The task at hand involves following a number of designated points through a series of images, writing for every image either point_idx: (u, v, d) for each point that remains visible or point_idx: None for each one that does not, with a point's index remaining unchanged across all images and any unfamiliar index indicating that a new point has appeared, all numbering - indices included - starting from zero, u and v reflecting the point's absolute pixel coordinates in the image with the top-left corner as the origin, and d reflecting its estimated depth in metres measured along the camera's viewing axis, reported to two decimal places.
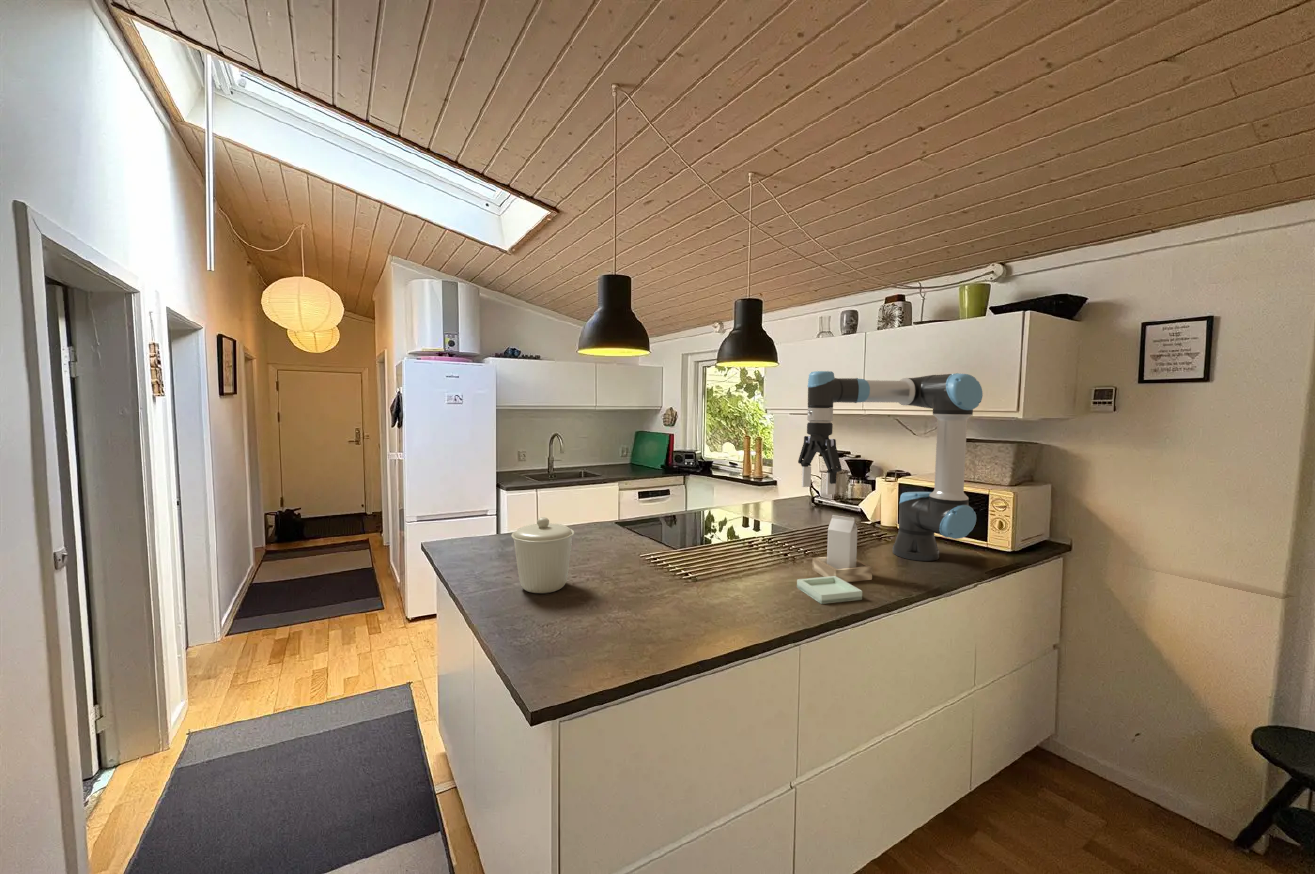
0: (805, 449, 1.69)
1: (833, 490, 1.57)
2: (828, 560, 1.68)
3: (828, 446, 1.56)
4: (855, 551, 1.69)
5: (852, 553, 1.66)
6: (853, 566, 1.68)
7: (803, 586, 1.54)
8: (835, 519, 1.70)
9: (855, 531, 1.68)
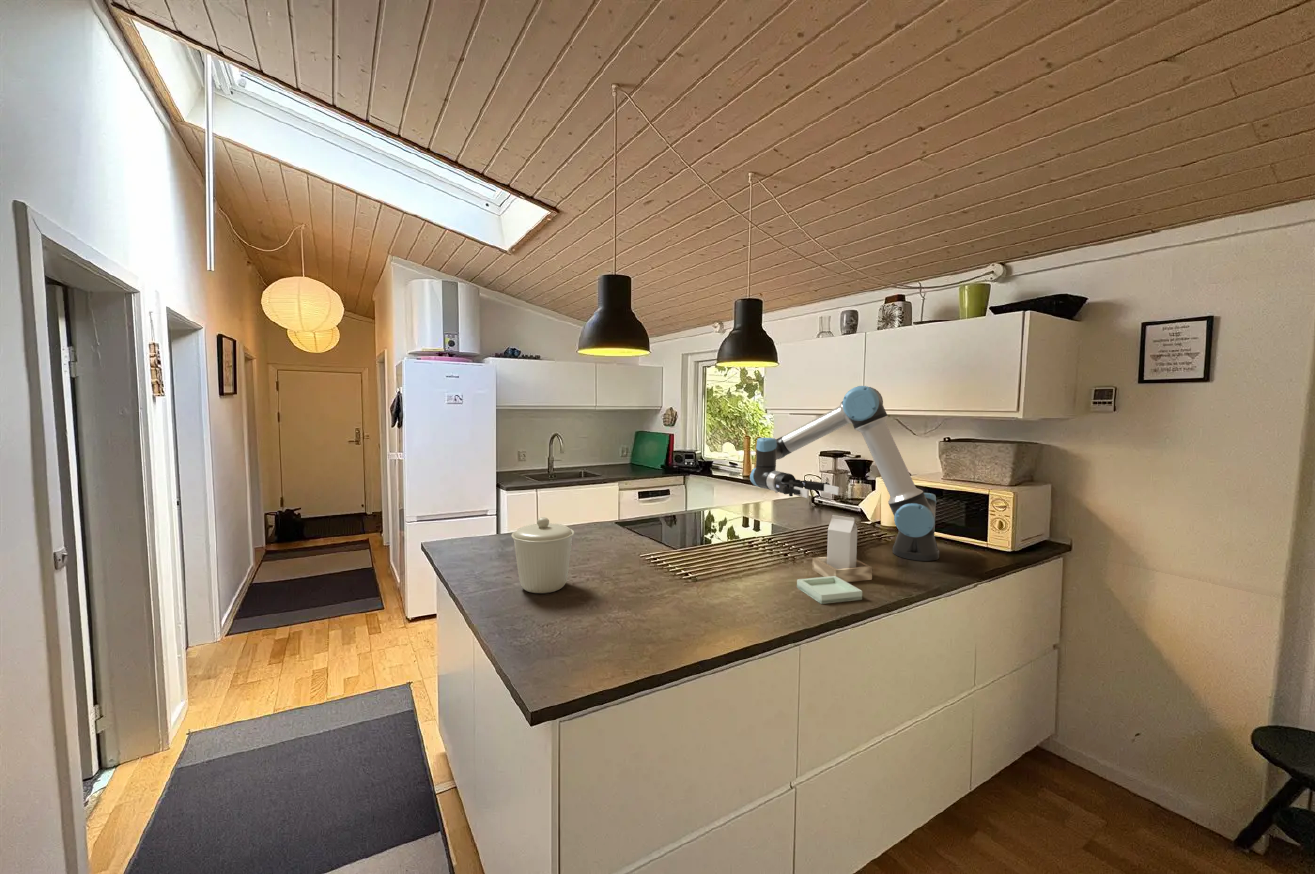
0: None
1: (804, 491, 1.74)
2: (828, 560, 1.68)
3: (779, 489, 1.86)
4: (855, 551, 1.69)
5: (852, 553, 1.66)
6: (853, 566, 1.68)
7: (803, 586, 1.54)
8: (835, 519, 1.70)
9: (855, 531, 1.68)
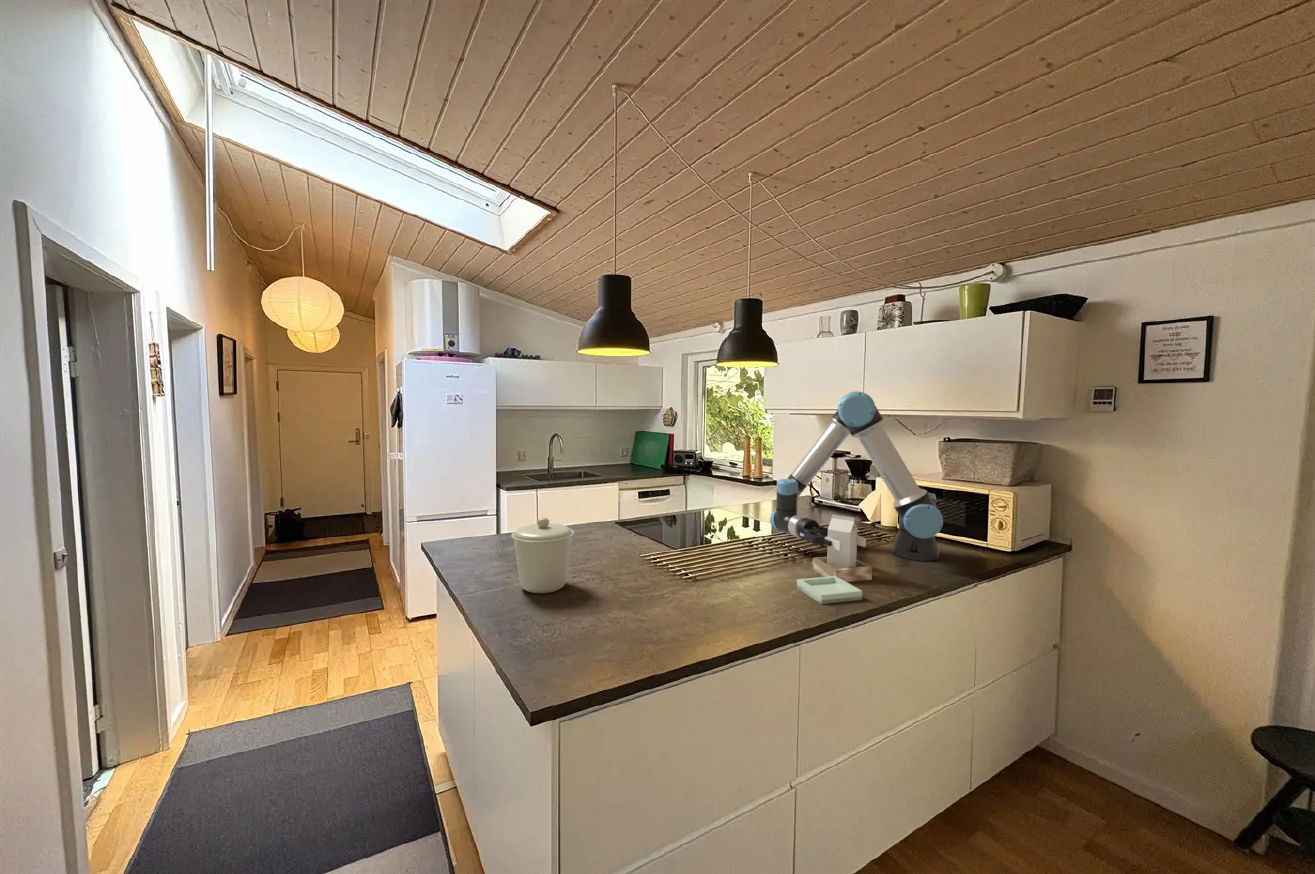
0: None
1: (837, 543, 1.64)
2: (828, 560, 1.68)
3: (804, 538, 1.76)
4: (855, 551, 1.69)
5: (852, 553, 1.66)
6: (853, 566, 1.68)
7: (803, 586, 1.54)
8: (835, 519, 1.70)
9: (855, 531, 1.68)
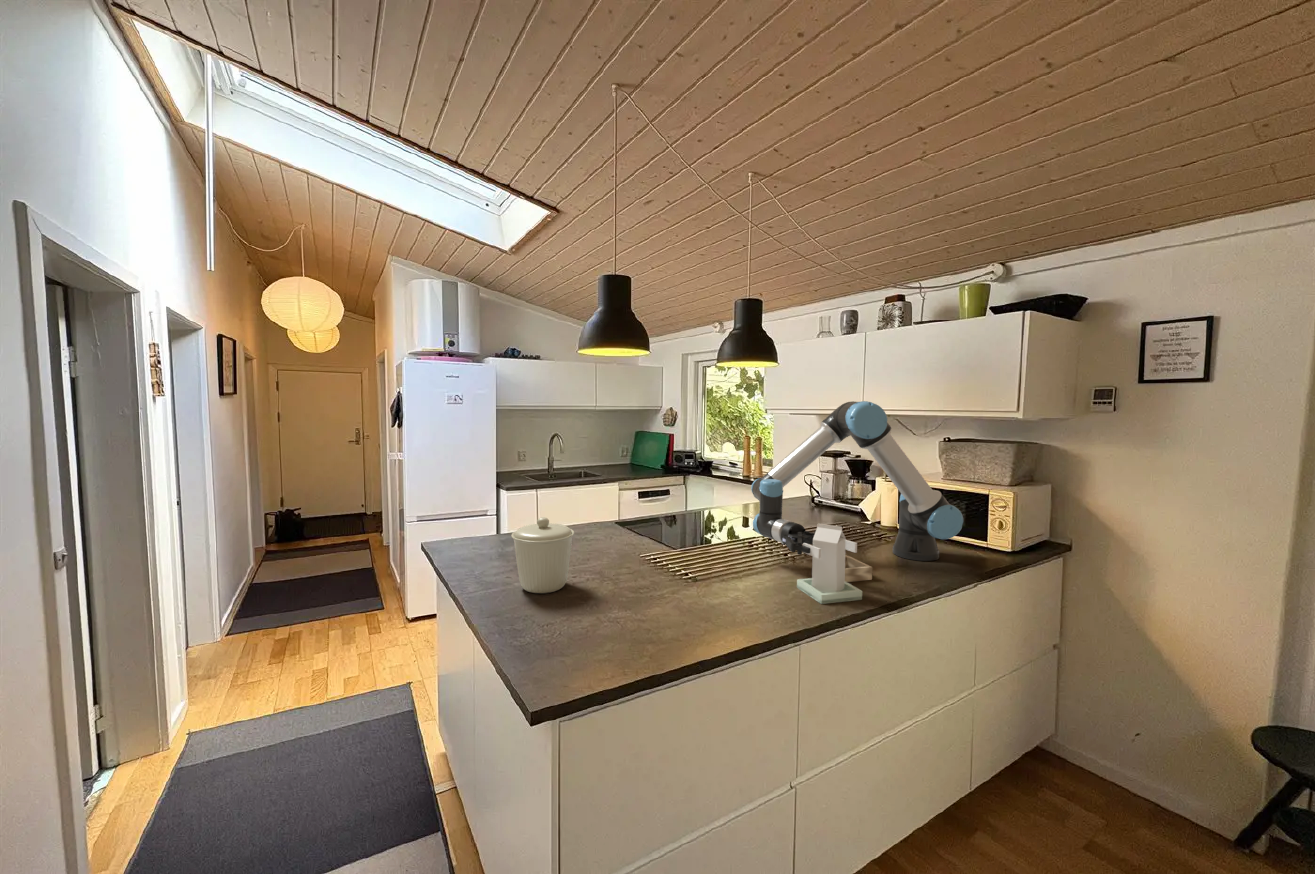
0: None
1: (815, 550, 1.47)
2: (813, 574, 1.52)
3: None
4: (843, 564, 1.52)
5: (839, 566, 1.50)
6: (841, 580, 1.51)
7: (803, 586, 1.54)
8: (821, 528, 1.53)
9: (843, 541, 1.51)
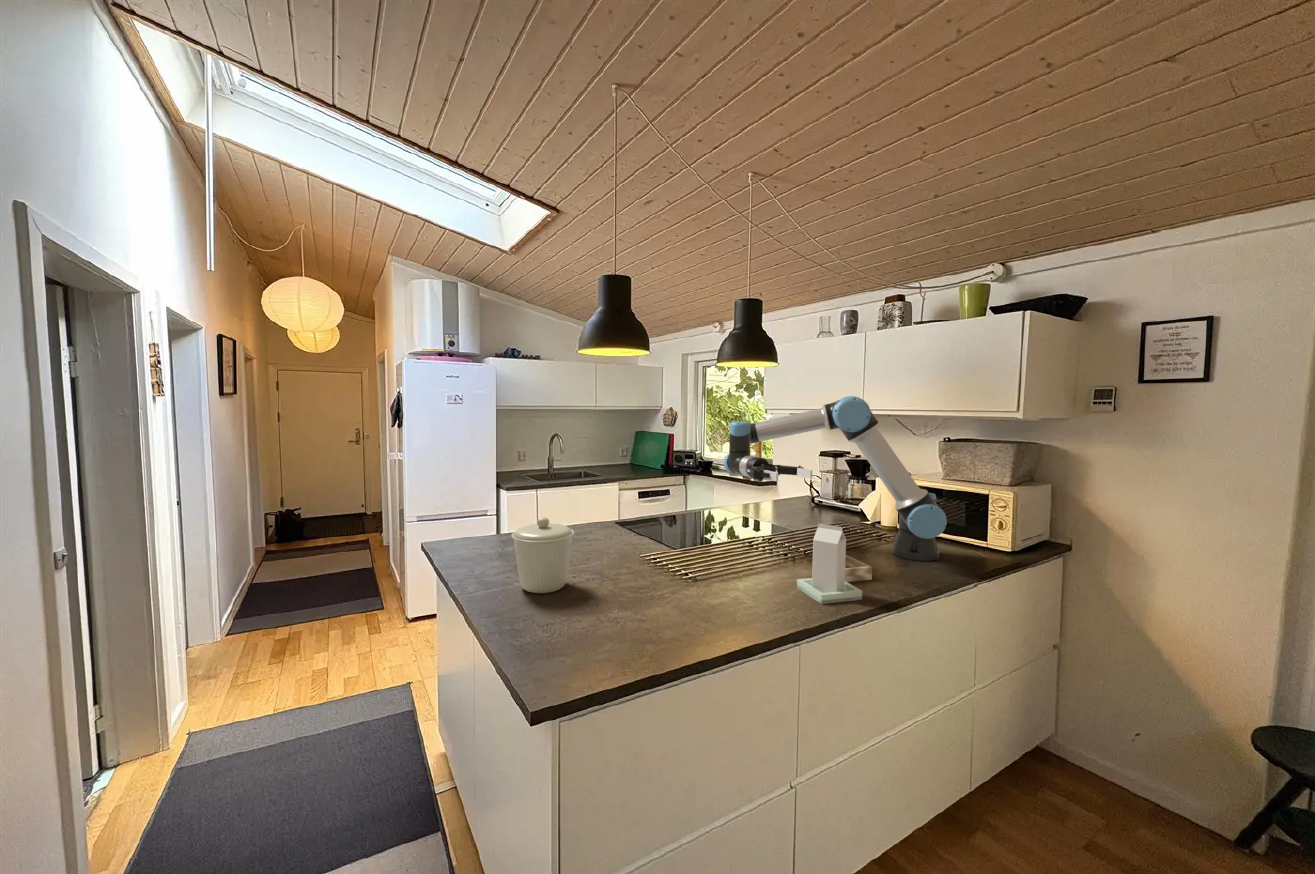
0: None
1: (774, 474, 1.65)
2: (813, 574, 1.52)
3: (750, 474, 1.77)
4: (843, 564, 1.52)
5: (839, 566, 1.49)
6: (841, 581, 1.51)
7: (803, 586, 1.54)
8: (821, 528, 1.53)
9: (843, 542, 1.51)
